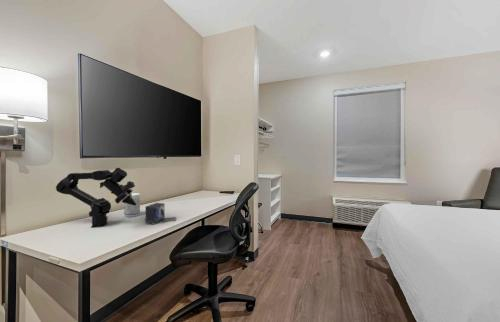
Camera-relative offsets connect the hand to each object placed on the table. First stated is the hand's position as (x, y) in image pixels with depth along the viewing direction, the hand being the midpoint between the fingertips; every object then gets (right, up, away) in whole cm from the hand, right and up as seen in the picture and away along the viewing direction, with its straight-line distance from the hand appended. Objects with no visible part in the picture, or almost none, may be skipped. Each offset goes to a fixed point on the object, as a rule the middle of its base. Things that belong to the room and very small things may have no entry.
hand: (135, 204), depth 123 cm
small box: (+10, -11, +4) cm, 16 cm away
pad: (+17, -11, +9) cm, 22 cm away
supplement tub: (-12, -11, +17) cm, 24 cm away
